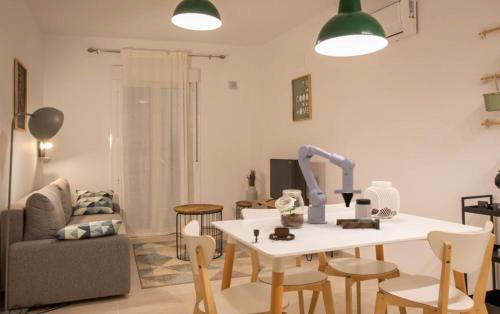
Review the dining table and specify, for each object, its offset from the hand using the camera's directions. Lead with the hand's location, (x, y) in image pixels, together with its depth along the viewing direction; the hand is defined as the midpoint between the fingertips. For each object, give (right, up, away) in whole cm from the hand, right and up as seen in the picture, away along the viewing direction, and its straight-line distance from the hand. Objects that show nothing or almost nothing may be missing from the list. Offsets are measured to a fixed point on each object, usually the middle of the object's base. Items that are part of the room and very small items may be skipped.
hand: (347, 207), depth 222 cm
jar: (+13, -10, +16) cm, 22 cm away
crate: (+8, -10, -3) cm, 13 cm away
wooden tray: (+4, -10, -5) cm, 12 cm away
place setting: (-42, -11, -32) cm, 53 cm away
